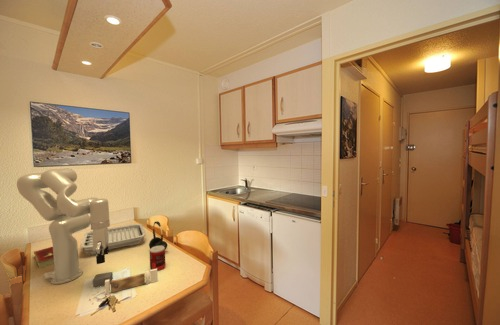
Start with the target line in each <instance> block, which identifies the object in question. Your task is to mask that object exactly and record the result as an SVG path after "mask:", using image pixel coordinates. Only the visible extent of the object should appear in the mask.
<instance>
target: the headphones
mask: <svg viewBox="0 0 500 325" xmlns="http://www.w3.org/2000/svg"><path fill="white" fill-rule="evenodd" d="M155 225H157V226H158V227H159V229H160V233H161V234H160V237H159V236H157V237H156V230H155ZM152 235H153V238H152V239H151V240H150V241H149V243H148V246H149V250H150V249H151V248H152V247H155V246H164V247H165V251H166V250H167V249H168V244H167V241H165V240H164V237H163V236H164V235H163V229H162V226H161V223H160V221H154V223H153V226H152Z"/></svg>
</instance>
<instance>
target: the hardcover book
mask: <svg viewBox="0 0 500 325" xmlns="http://www.w3.org/2000/svg"><path fill="white" fill-rule="evenodd" d="M33 254H34V258H35V260H36V263H37V265H38V267H39V269H41V268H44V267H47V266H50V265H54V255H53V246H50V247H46V248H42V249H39V250H35V251H33Z"/></svg>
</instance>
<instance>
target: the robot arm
mask: <svg viewBox="0 0 500 325" xmlns="http://www.w3.org/2000/svg"><path fill="white" fill-rule="evenodd" d="M77 179H78V174H77V173H76V171H75V170H74V169H72V168H68V167H67V168H66V167H65V168H53V169H47V170H45V171H43V172H36V173H28V174H24V175H22V176H20V177H19V178H18V179H17V181H16V189H17V190H18V193H19V194H20V195H21V197H23V198H24V199H25V201H28V202H29V203H30V205H32V206H33V207H34V209H35V210H36V211H37V212H38V214H39V215H40V216H41V217H42V218H43V219H44V220H45V221H47V222H50V224H49V225H48V232H49V235H50V238H51V243H52V247H53V255H54V264H53V267H54V268H53V269H54V270H53V271H49V272H44V274H43V277H44V279H46V280H47V279H50V278H51V279H50V283H51V284H53V285H61V284H65V283H69V282H71V281H74V280H76V279H78V278H80V277H81V276H82V275H83V273H84V271H83V269H82V268H80V265H79V250H78V249H79V248H78V245H79V244H78V241H77V239H76V238H75V237H74V236H73V234H74V233H78V232H80V231H83V230H86V229H87V228H89V227H90V231H91V230H92V231H93V251H95V250H96V254H95V259H96V260H95V261H96V265H100V264H104V263H105V262H106V256H105V255H109V249H108V228H110V226H111V222H110V221H111V220H110V209H109V208H110V207H109V201H108V199H107V198H97V197H88V198H82V199H79V200H75V199H72V198H69V197H71V196H72V195H73V194H74V193H76V191H77V188H78V185H77V184H76V183H75V182H76V181H77ZM46 188H49V189H50V190H51V191H52V192H54V193H55V194H56V195H57V196H56V198H55V197H54V196H53V194H52V193H50V192H48V191H45V190H42V189H46ZM51 221H52V222H51ZM100 250H101V251H100Z"/></svg>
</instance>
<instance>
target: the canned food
mask: <svg viewBox="0 0 500 325" xmlns="http://www.w3.org/2000/svg"><path fill="white" fill-rule="evenodd" d="M149 268H150V270H152V269H157V272H159V271H162V270H164V269H165V268H166V250H165V247H164V246H155V247H152V248H151V249H150V248H149Z"/></svg>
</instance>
